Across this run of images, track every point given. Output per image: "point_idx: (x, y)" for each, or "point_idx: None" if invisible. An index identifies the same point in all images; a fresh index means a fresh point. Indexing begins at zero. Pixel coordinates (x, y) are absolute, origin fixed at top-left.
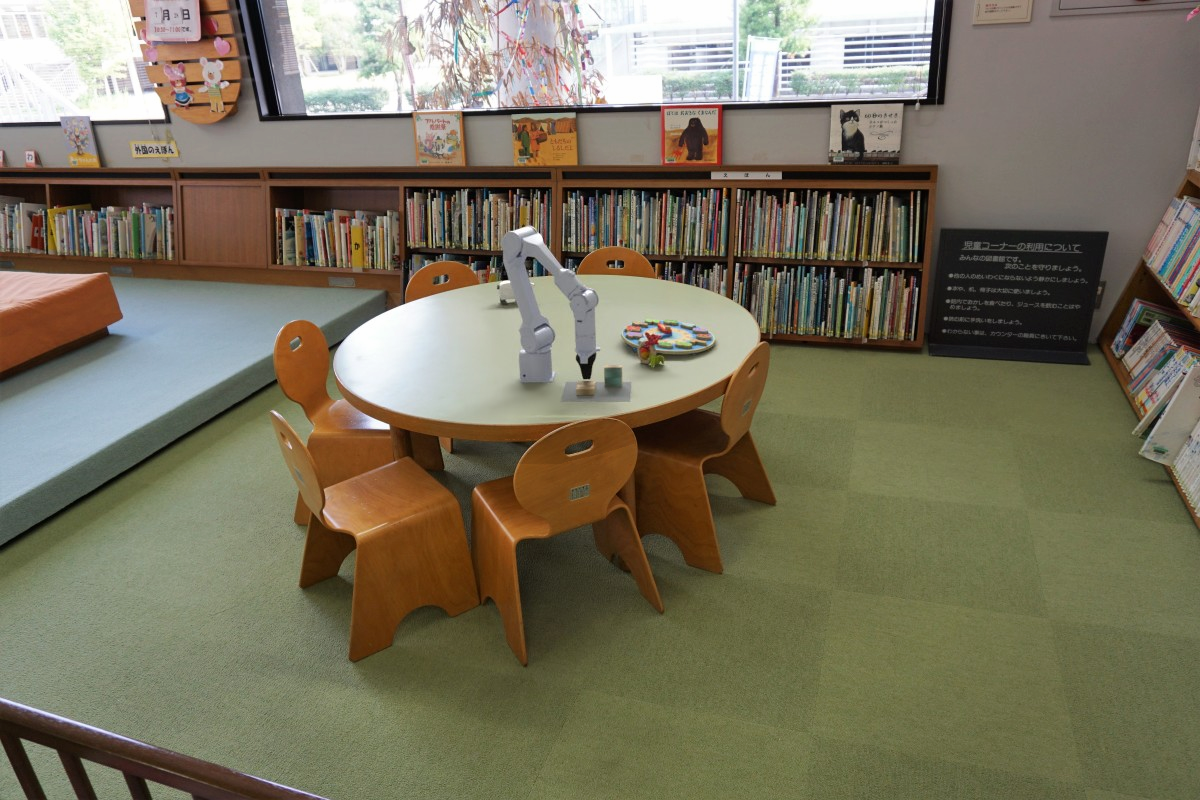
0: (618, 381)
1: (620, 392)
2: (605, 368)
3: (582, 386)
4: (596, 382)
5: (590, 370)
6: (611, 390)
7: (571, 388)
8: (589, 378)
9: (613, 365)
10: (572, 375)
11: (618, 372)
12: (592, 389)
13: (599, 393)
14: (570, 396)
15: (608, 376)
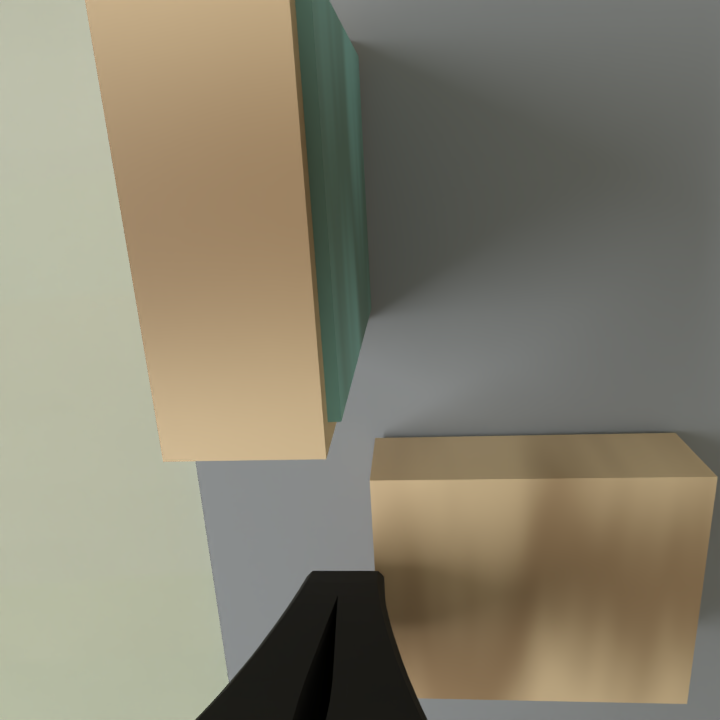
0: (351, 92)
1: (581, 43)
2: (328, 414)
3: (592, 636)
4: None
5: (403, 693)
6: (493, 205)
7: None
8: (384, 590)
9: (144, 220)
10: (13, 694)
11: (329, 62)
12: (712, 497)
13: (605, 369)
14: None
15: (352, 296)
